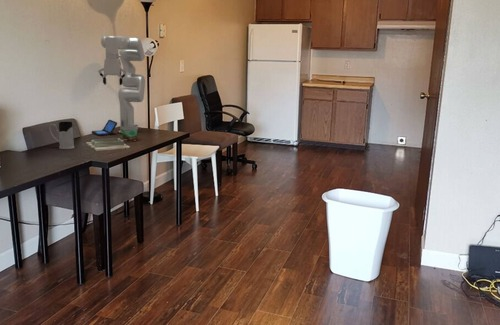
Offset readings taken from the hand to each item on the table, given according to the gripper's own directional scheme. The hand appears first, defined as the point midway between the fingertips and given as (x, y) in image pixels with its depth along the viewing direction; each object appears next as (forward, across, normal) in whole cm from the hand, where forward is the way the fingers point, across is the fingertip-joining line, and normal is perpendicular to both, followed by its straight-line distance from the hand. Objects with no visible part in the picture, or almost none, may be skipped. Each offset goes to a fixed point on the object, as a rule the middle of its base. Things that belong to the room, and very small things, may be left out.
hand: (112, 84), depth 288 cm
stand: (+36, +1, +14) cm, 39 cm away
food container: (+37, -10, -4) cm, 38 cm away
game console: (+37, +13, -27) cm, 47 cm away
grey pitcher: (+37, +26, +21) cm, 50 cm away
